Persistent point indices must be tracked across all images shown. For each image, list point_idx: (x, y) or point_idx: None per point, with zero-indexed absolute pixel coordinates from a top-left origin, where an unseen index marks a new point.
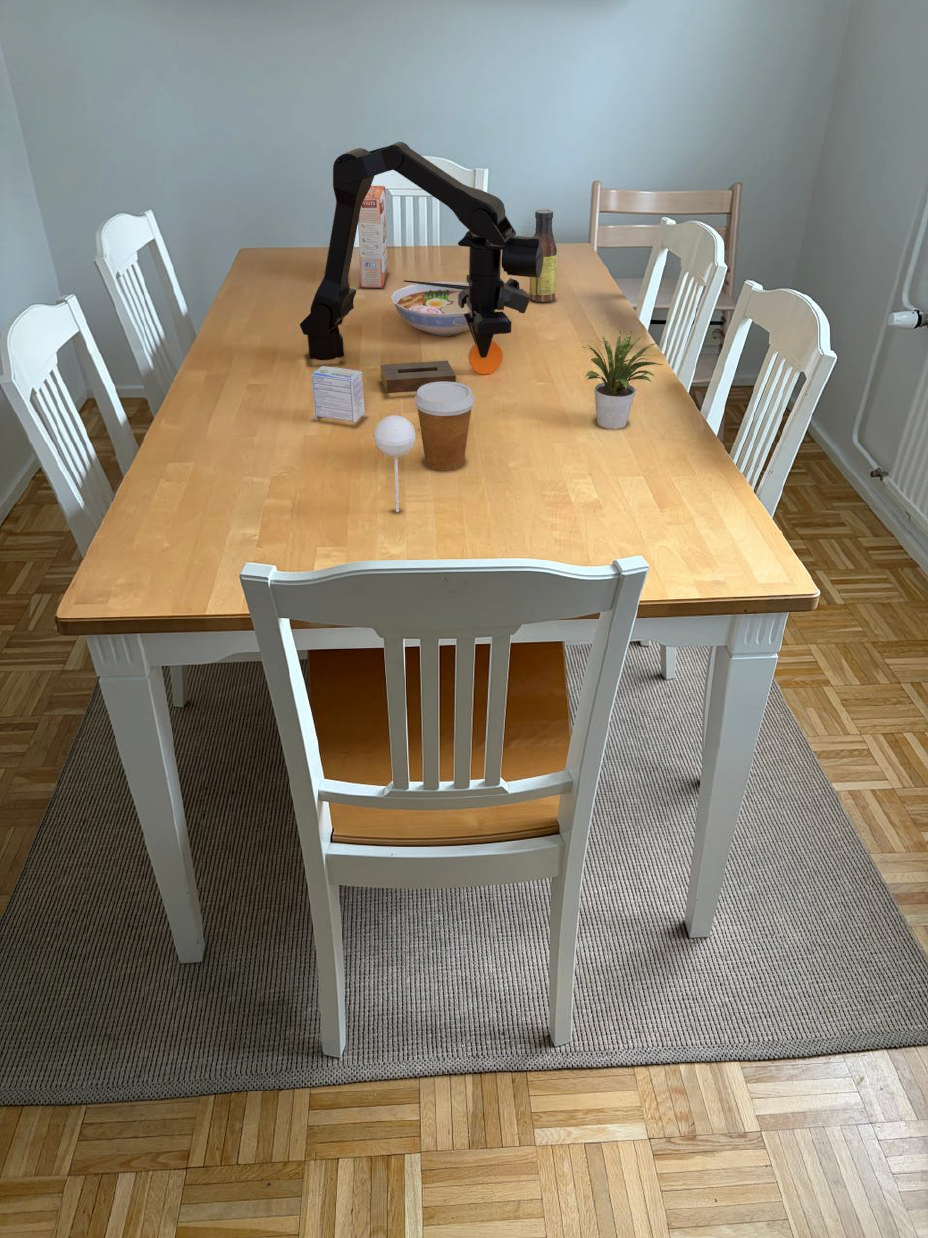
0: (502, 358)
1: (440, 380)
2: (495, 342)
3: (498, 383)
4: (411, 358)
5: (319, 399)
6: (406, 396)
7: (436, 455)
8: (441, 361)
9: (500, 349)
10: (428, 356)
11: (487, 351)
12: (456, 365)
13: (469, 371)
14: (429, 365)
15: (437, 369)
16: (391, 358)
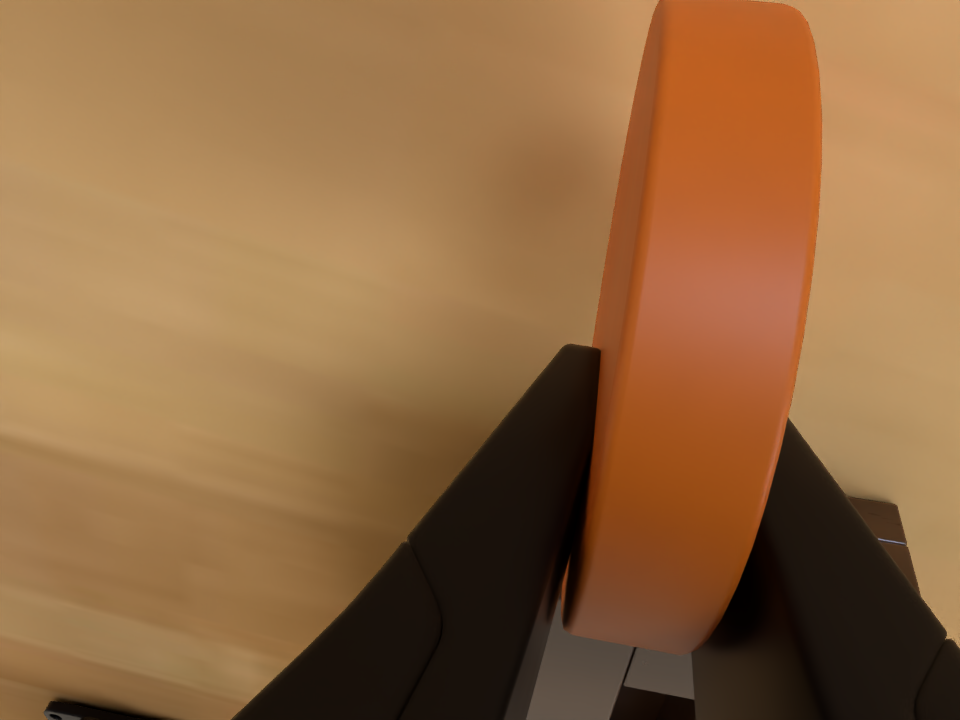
0: (806, 21)
1: None
2: (666, 346)
3: (899, 16)
4: (69, 498)
5: None
6: None
7: None
8: None
9: (814, 174)
10: (3, 401)
11: (804, 453)
12: (198, 281)
13: (376, 223)
14: (565, 701)
15: (677, 691)
16: (88, 575)
